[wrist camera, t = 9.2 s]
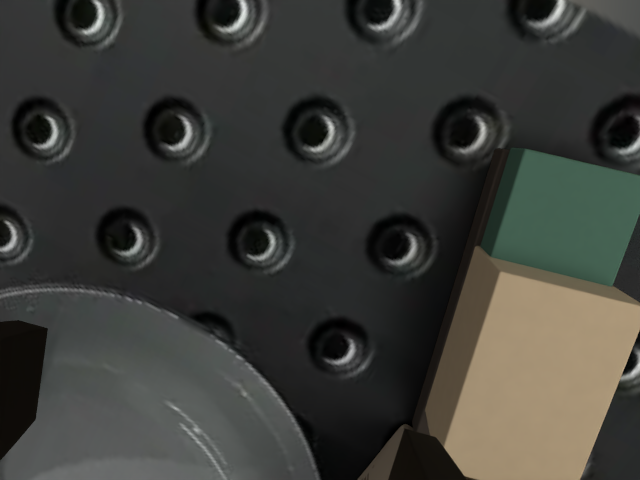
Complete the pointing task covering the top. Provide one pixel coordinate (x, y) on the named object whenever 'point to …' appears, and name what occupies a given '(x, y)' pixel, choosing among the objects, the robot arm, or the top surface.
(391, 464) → the coffee box
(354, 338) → the top surface
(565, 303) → the tan and green block
